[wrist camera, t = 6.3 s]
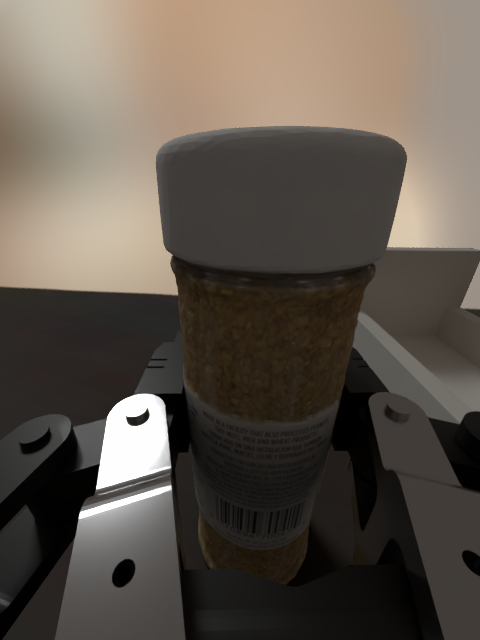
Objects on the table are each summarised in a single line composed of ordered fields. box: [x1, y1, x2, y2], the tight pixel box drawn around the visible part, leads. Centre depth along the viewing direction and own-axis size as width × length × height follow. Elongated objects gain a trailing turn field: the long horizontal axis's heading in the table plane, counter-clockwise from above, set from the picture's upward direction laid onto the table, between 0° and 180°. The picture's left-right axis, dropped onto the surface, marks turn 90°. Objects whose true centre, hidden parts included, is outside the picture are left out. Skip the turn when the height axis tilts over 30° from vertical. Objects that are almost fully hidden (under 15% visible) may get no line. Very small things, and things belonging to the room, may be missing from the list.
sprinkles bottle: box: [156, 126, 407, 585], centre depth 8 cm, size 5×5×13 cm
